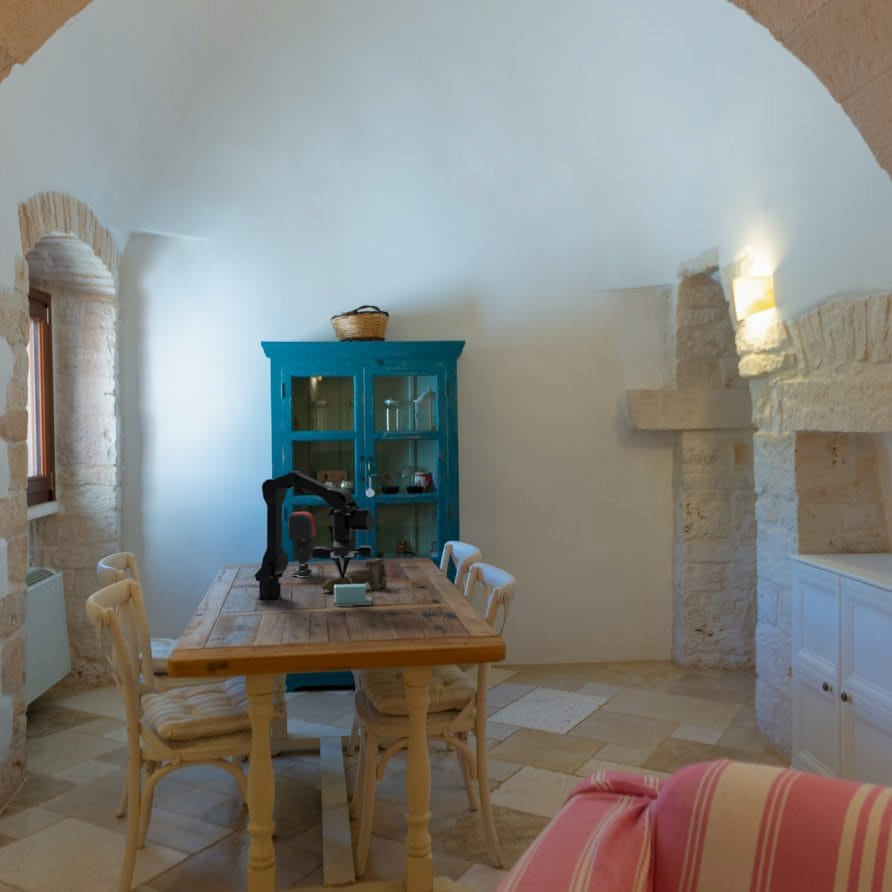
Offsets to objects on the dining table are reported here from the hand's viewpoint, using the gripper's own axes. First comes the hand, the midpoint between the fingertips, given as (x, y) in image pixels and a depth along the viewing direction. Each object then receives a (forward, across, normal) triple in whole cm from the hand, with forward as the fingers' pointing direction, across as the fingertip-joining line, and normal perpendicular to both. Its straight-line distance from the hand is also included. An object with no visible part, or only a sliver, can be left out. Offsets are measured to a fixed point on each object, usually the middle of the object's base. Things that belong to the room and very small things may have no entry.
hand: (342, 578), depth 269 cm
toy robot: (+8, -18, +55) cm, 58 cm away
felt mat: (+8, +4, 0) cm, 9 cm away
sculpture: (+8, +3, +21) cm, 23 cm away
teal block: (+5, -3, 0) cm, 6 cm away
